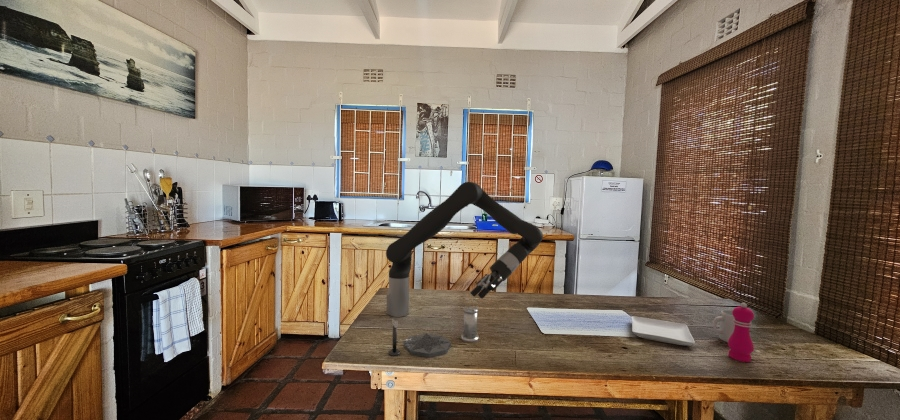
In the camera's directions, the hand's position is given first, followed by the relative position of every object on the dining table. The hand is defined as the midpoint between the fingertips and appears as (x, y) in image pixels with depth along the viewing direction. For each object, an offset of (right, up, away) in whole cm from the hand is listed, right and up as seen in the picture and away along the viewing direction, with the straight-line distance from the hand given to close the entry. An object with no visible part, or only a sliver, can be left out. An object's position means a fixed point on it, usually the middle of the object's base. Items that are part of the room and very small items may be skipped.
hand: (475, 295), depth 136 cm
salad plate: (+76, -20, +13) cm, 80 cm away
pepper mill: (+94, -21, -6) cm, 96 cm away
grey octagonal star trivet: (-18, -18, -3) cm, 25 cm away
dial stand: (-27, -18, -8) cm, 34 cm away
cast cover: (-2, -18, +5) cm, 18 cm away
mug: (+101, -20, +9) cm, 104 cm away
